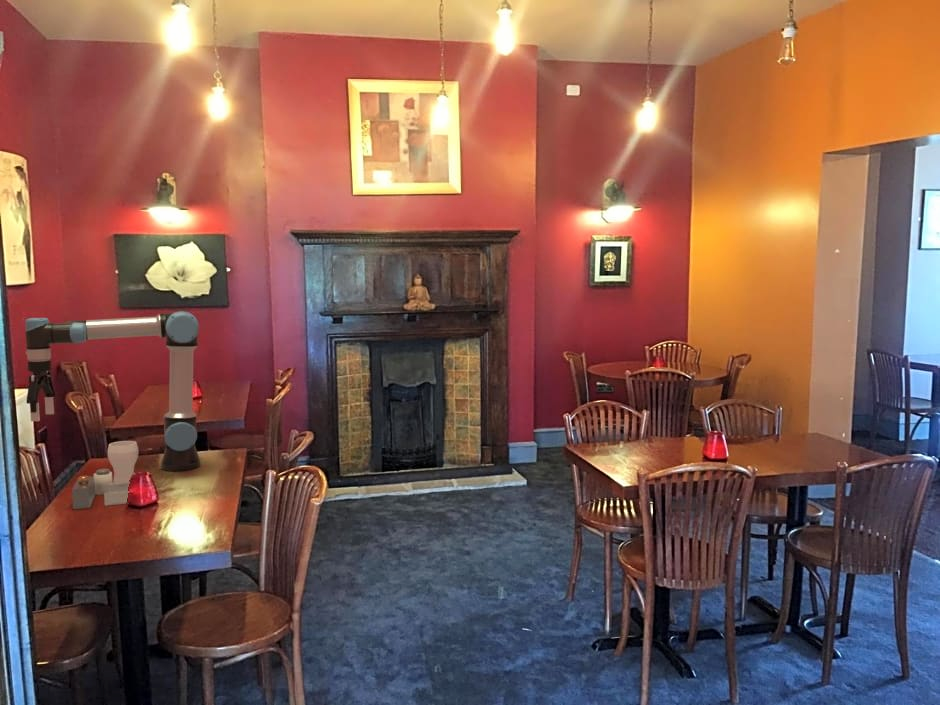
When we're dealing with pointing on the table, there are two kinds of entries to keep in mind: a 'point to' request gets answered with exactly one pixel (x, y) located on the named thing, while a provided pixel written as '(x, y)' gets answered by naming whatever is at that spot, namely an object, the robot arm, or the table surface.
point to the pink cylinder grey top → (102, 481)
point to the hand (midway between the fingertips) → (42, 417)
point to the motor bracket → (86, 493)
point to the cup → (123, 459)
